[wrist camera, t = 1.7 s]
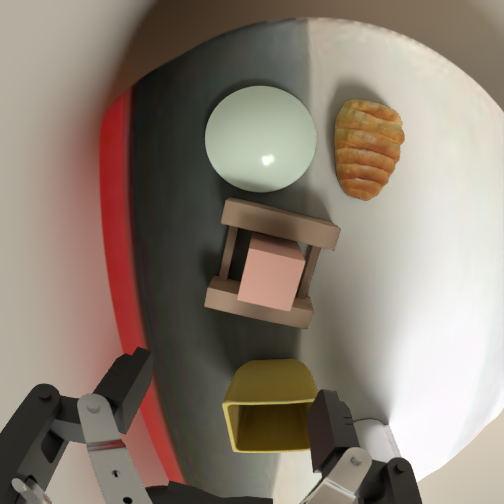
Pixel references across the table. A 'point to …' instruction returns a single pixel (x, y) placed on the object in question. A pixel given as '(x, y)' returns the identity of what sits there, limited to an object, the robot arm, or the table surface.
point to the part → (271, 272)
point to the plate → (260, 139)
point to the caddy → (280, 225)
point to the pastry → (366, 147)
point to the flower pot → (269, 406)
